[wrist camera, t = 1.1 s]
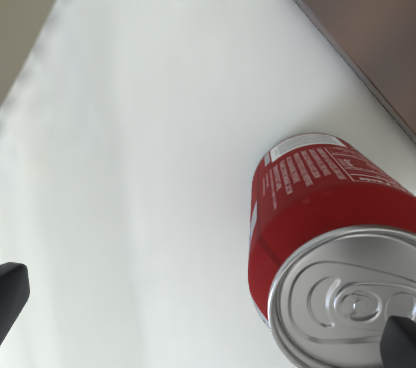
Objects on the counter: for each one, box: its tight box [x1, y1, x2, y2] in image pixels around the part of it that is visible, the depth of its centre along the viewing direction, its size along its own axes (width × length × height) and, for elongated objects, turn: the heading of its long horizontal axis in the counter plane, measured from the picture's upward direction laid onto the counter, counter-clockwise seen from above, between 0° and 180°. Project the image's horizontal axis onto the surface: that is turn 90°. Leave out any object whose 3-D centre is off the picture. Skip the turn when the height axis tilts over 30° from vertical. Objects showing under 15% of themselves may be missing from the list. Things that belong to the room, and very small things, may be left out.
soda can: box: [248, 133, 416, 368], centre depth 16 cm, size 7×7×12 cm
